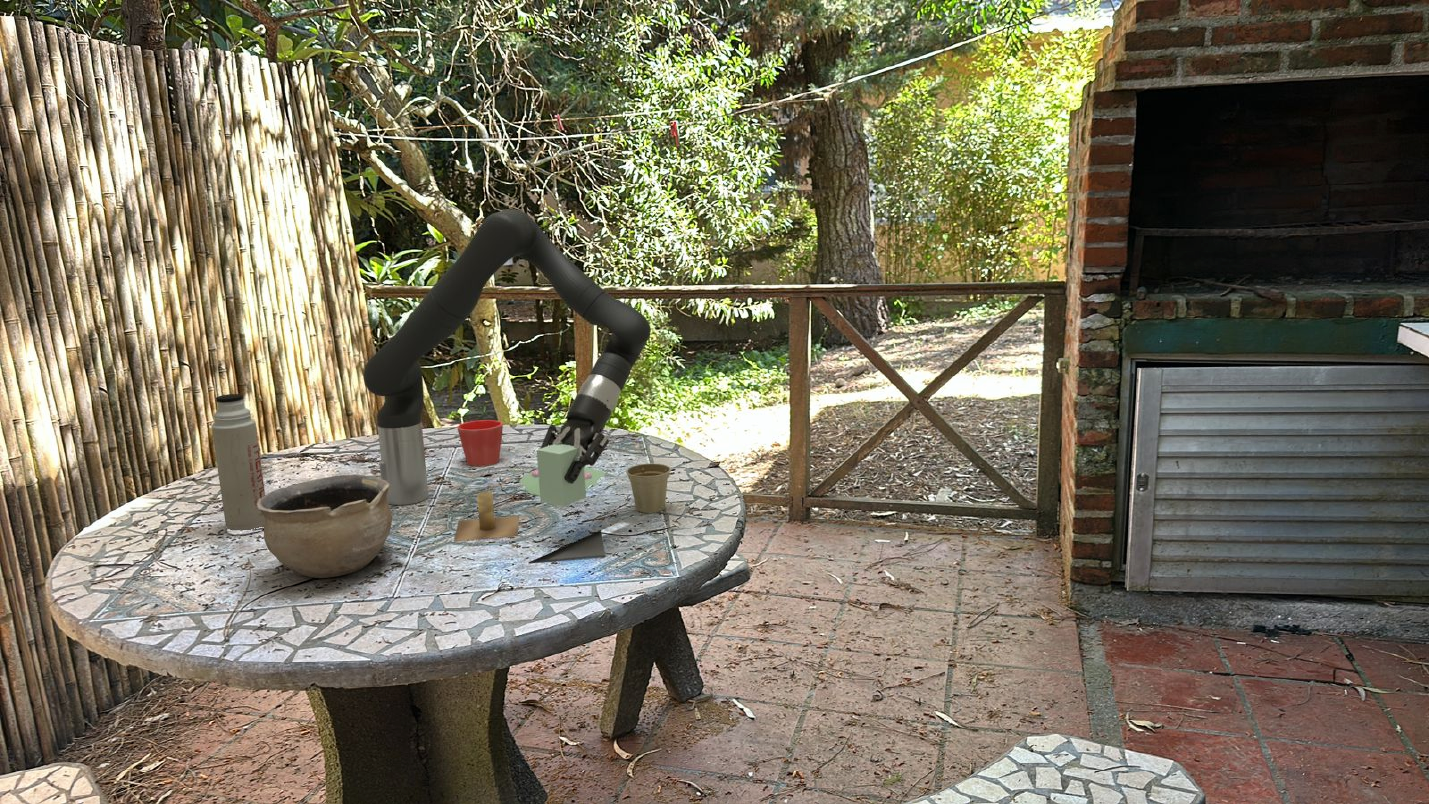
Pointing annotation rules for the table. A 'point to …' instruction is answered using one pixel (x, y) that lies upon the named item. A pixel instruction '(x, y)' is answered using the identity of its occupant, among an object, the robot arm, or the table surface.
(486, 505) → the peg stand
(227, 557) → the table surface
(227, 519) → the thermos bottle
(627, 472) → the flower pot
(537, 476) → the plant
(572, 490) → the sage green tall block
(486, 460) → the flower pot
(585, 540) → the mat
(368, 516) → the ceramic bowl
